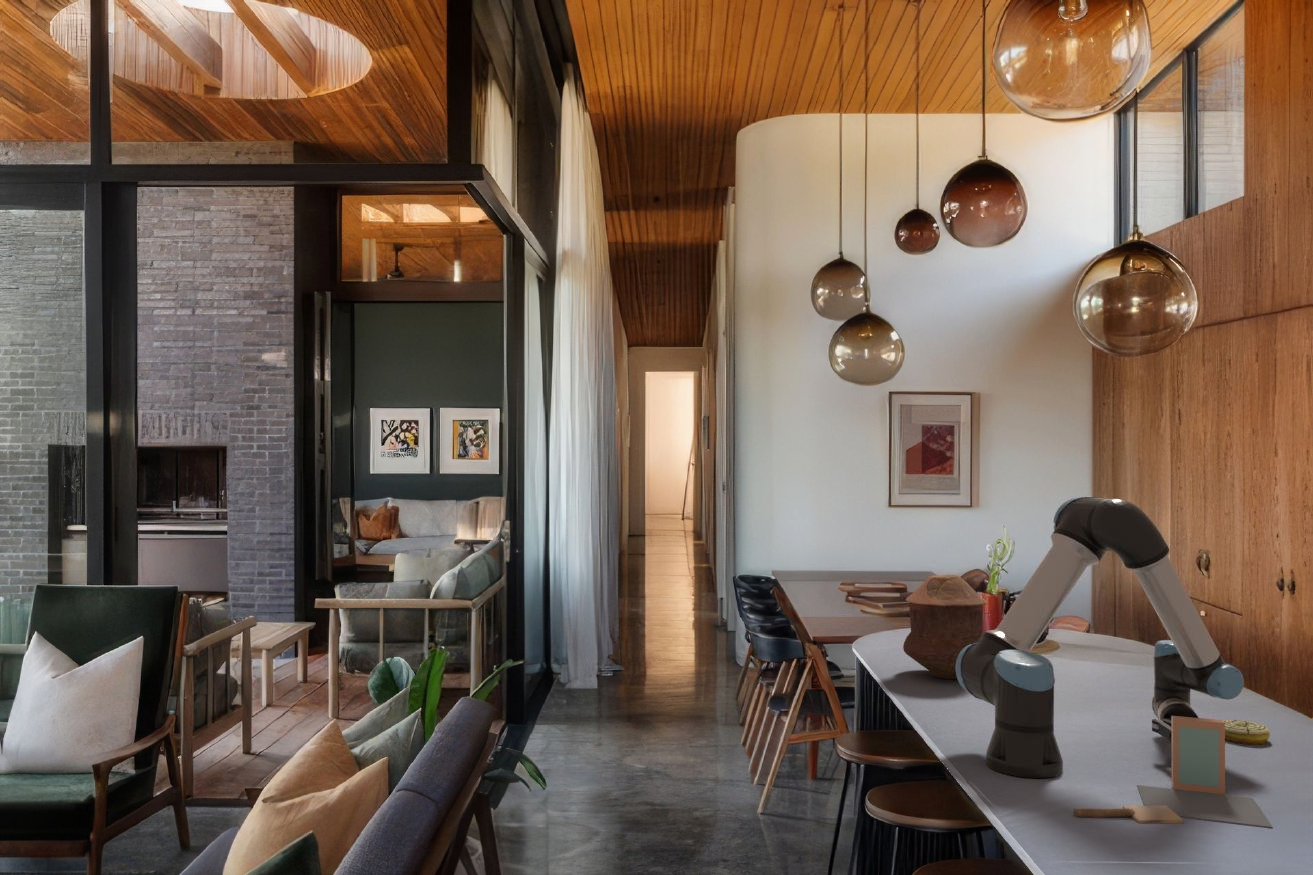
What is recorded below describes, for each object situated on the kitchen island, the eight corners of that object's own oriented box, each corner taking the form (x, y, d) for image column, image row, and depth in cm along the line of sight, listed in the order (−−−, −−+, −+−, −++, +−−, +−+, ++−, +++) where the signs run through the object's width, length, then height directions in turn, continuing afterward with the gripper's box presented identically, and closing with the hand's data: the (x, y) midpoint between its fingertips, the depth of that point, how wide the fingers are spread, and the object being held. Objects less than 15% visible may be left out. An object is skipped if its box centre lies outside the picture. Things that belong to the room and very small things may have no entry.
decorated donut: (1234, 731, 238) (1234, 715, 238) (1279, 742, 229) (1279, 726, 229) (1206, 736, 234) (1206, 720, 234) (1251, 748, 224) (1251, 731, 224)
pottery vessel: (1000, 688, 280) (1000, 581, 280) (907, 684, 284) (907, 579, 284) (984, 668, 305) (985, 571, 306) (899, 665, 309) (899, 569, 310)
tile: (1173, 789, 195) (1173, 718, 195) (1171, 786, 197) (1171, 715, 197) (1225, 795, 192) (1224, 722, 192) (1222, 791, 194) (1222, 720, 194)
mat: (1146, 813, 181) (1146, 811, 181) (1137, 786, 196) (1137, 784, 196) (1272, 829, 174) (1272, 826, 174) (1252, 799, 189) (1252, 797, 189)
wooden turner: (1082, 824, 177) (1082, 816, 177) (1068, 809, 183) (1068, 802, 183) (1183, 822, 177) (1183, 815, 176) (1166, 808, 183) (1166, 801, 182)
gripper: (1211, 739, 219) (1234, 771, 197) (1146, 733, 223) (1161, 763, 201) (1211, 705, 219) (1234, 733, 197) (1146, 699, 224) (1161, 726, 201)
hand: (1197, 748), depth 199 cm, fingers closed
